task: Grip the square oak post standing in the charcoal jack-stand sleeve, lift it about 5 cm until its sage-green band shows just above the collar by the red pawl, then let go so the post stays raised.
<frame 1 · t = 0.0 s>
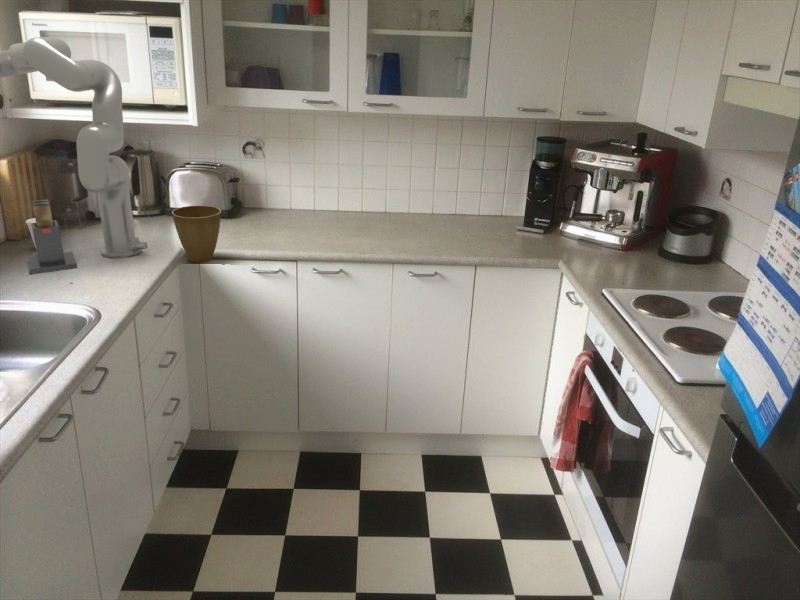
smoothie: (42, 248, 220), on the worktop
column: (46, 231, 201), point 11 cm above the worktop, slide at 0.0 cm
plant pot: (201, 259, 214), on the worktop
stand: (52, 264, 205), on the worktop
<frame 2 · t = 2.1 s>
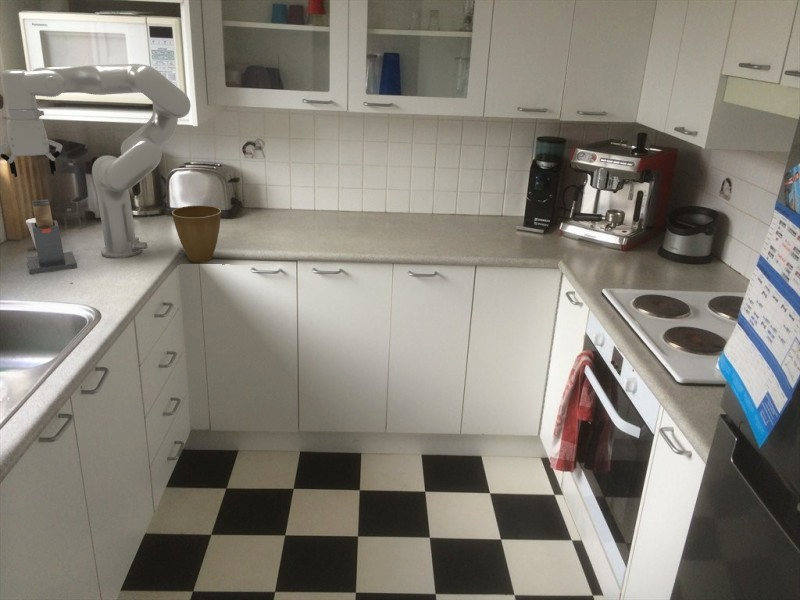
hand: (34, 174, 194), 28 cm above the worktop, tool pointing down, fingers open, 9 cm apart
nothing on the worktop moved.
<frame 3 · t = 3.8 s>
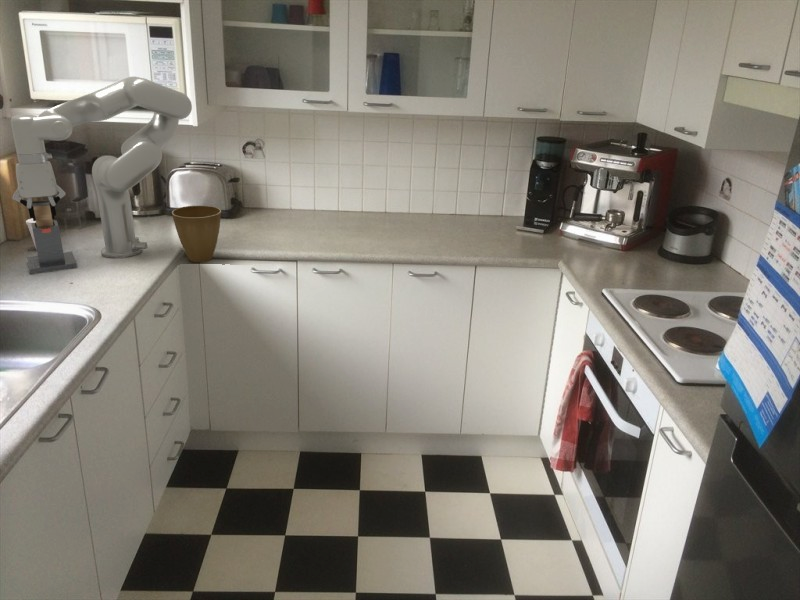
hand: (43, 218, 200), 15 cm above the worktop, tool pointing down, fingers closed on column, 4 cm apart
column: (46, 231, 201), point 11 cm above the worktop, slide at 0.0 cm, touching gripper
everything else where it was.
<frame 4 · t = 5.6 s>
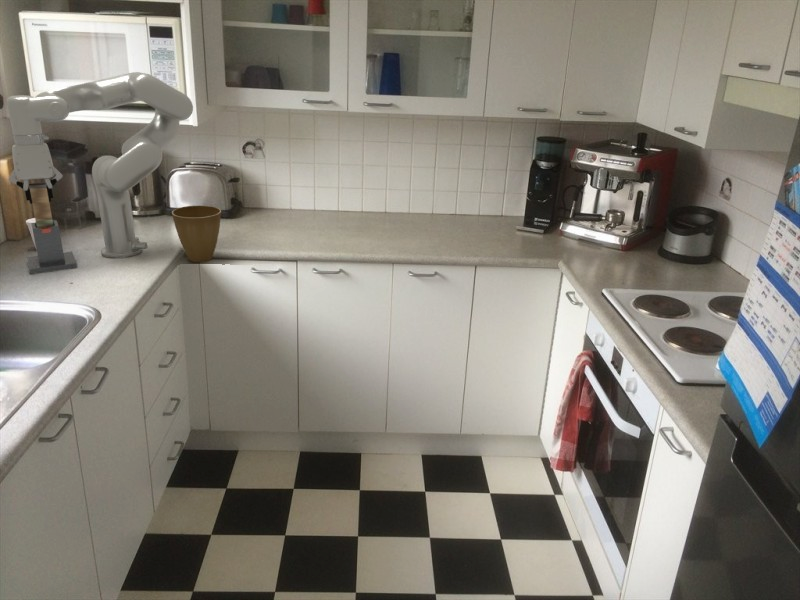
hand: (40, 201, 197), 20 cm above the worktop, tool pointing down, fingers closed on column, 4 cm apart
column: (42, 214, 199), point 16 cm above the worktop, slide at 5.4 cm, touching gripper
everything else where it was.
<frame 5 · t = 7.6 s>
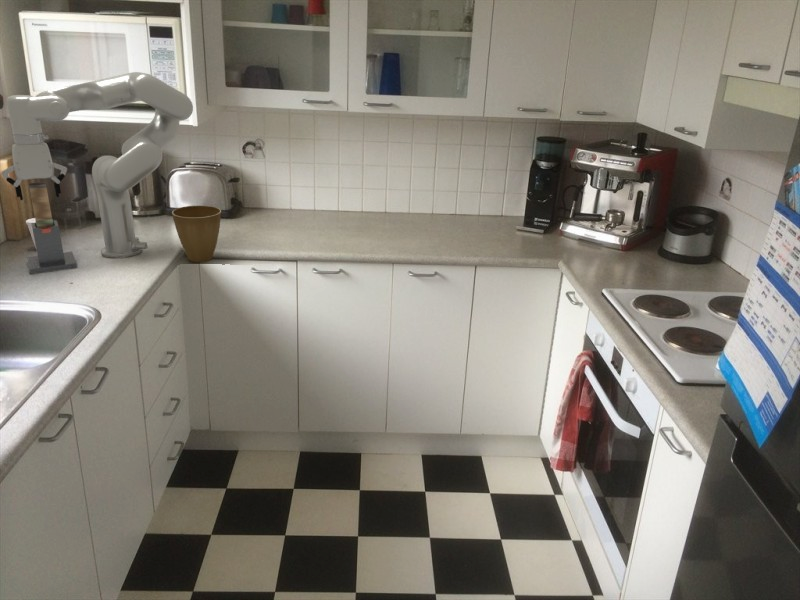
hand: (39, 197, 197), 21 cm above the worktop, tool pointing down, fingers open, 9 cm apart
column: (42, 213, 199), point 16 cm above the worktop, slide at 5.5 cm
everything else where it was.
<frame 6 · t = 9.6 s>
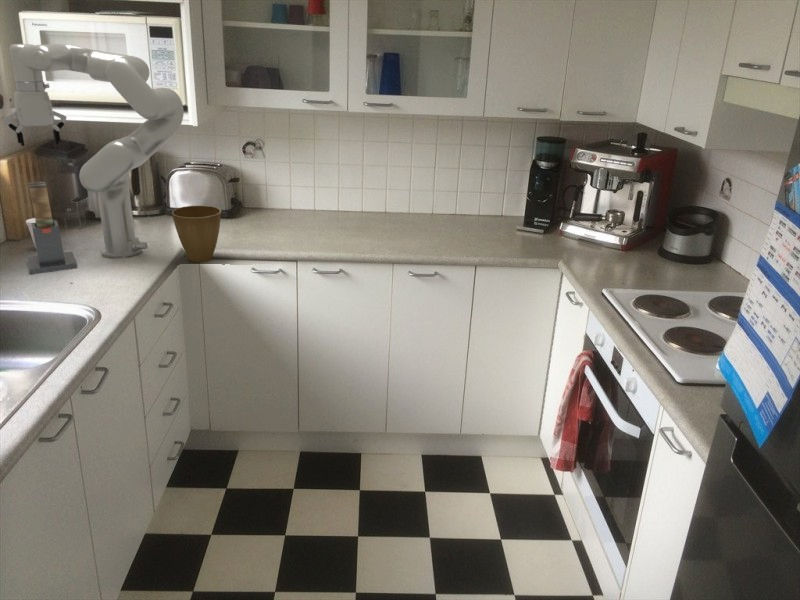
hand: (40, 144, 206), 35 cm above the worktop, tool pointing down, fingers open, 9 cm apart
nothing on the worktop moved.
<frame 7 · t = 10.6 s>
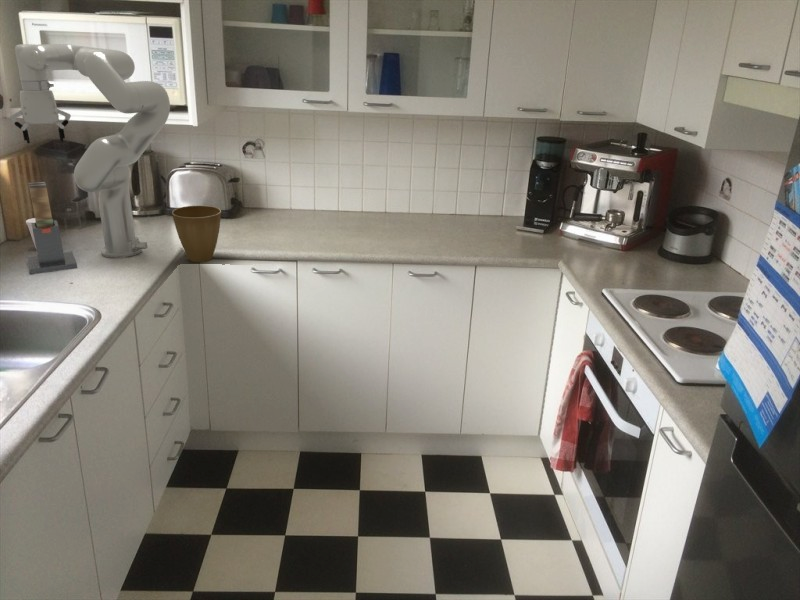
hand: (45, 141, 212), 34 cm above the worktop, tool pointing down, fingers open, 9 cm apart
nothing on the worktop moved.
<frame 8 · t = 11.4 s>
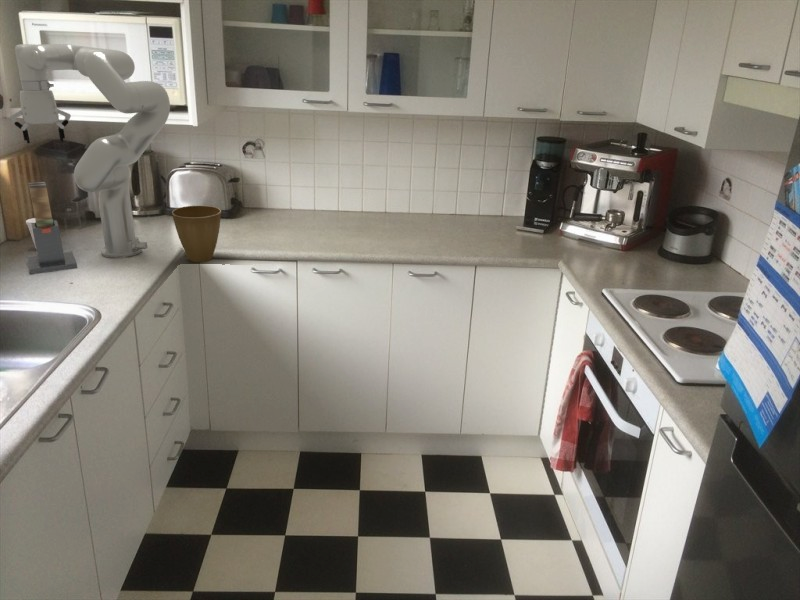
hand: (45, 141, 212), 34 cm above the worktop, tool pointing down, fingers open, 9 cm apart
nothing on the worktop moved.
at the end: column slide at 5.5 cm; the gripper is holding nothing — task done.
